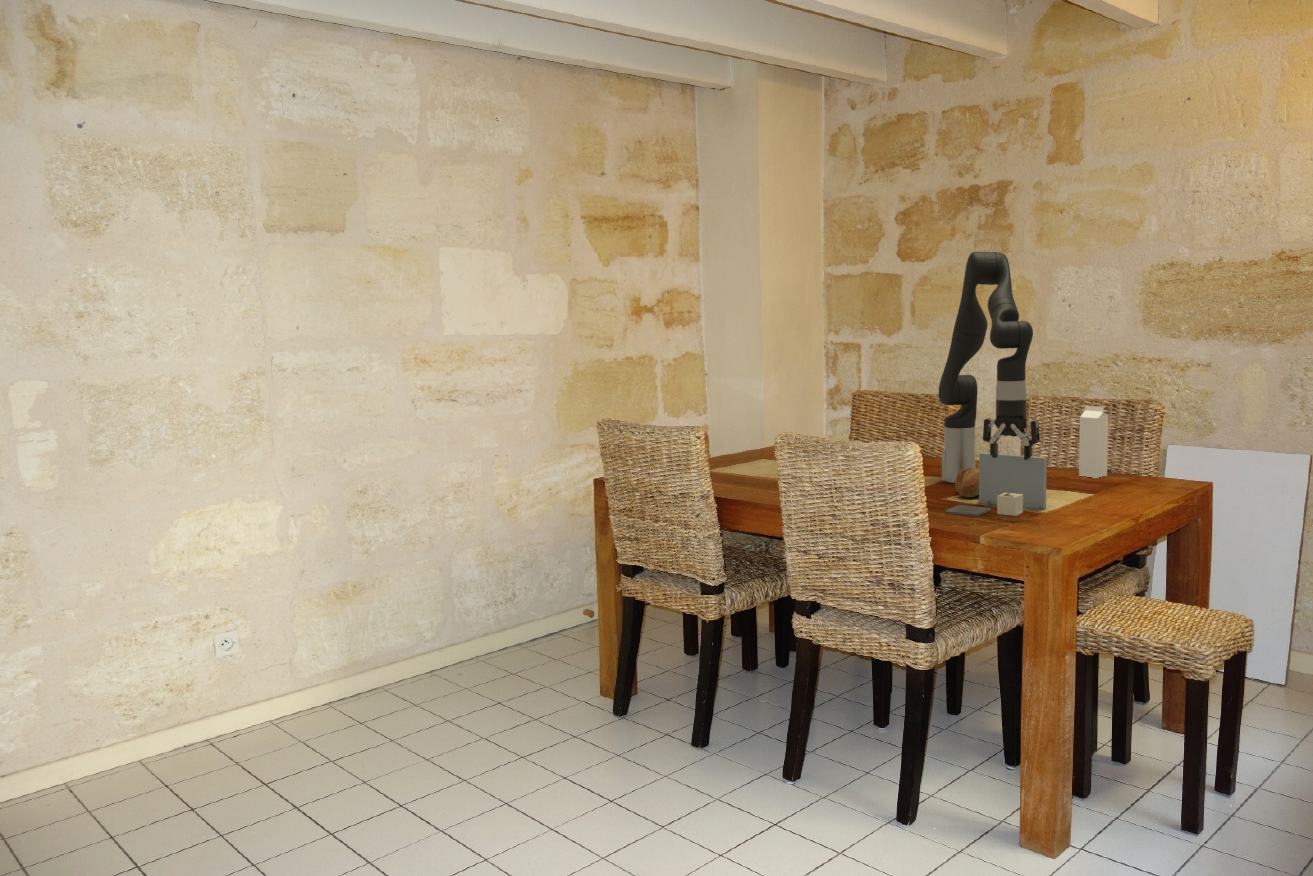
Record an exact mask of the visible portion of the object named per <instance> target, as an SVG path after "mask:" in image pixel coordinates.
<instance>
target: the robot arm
mask: <svg viewBox="0 0 1313 876" xmlns="http://www.w3.org/2000/svg"><path fill="white" fill-rule="evenodd" d="M1009 262H1010V261H1009V259H1008V257H1007V255H1006V254H1005V253H1003V252H997V251H972V252H971V253H969V256H968V258H967V260H966V264H965V270H964V277H963V283H962V289H961V290H962V291H961V295H960V296H961V298H960V303H959V306H958V311H957V314H956V319H955V322H954V327H953V331H952V336H951V340H950V346H949V351H948V355H947V359H946V363H945V365H944V369H943V372H942V375H941V377H940V381H939V385H938V399H939V401H940V403H941V404H942V405H944V406H960V408H959V409H958V410H957V411H955V412H954V413H952V414H949V415H948V416H946V417H944V422H943V423H944V425H943V426H944V432H943V433H944V438H943V439H944V445H943V446H944V448H943V449H944V450H942V451H941V481H942V482H946V483H953V484H955V480H956V477H957V474H958V473H959V472H960V471H961V470H963V469H965V468H976V420H977V409H978V407H977V406H978V391H979V390H978V382H977V379H976V377H975V376H973V374H961V371H962V370H963V368H964V367H965V366H966V365H967V364H968V362H970V360H971V359H972V358H973V357H974V356H975V355H976V354H978V352H979V351H980V349H981V348H982V347H983V344H984V342H985V338H986V335H987V334H986V333H987V330H988V320H987V317H986V315H985V313H984V310H983V308H982V307H981V305H980V301H979V300H978V296H977V293H976V291H977V287H978V285H983V286H984V285H986V286H988V285H989V286H991V285H992V286H993V285H996V287H995V289H994V290H993V291H992V292H991V293H990V295H989V297H988V300H987V310H988V313H989V315H990V320H991V327H990V332H989V333H990V334H989V340H990V344H991V345H992V346H993V347H994V348H996V349H999V350H1002V349H1016V350H1015V352H1014V354H1012V355H1010V356H1007V357H1002V358H1000V359H998V360H997V363H996V386H995V419H992V418H991V417H990V418H986V419H984V420H983V431H982V432H983V433H982V441H984V442H987V443H988V444H989V453H990V454H991V455H992V458H996V457H998V454H999V442H998V441H999V440H1000V439H1001V438H1002V437H1003V436H1004V437H1007V436H1009V437H1018V438H1019V439H1020V440H1021V441H1022V442H1023V444H1024V446H1023V456H1024V460H1029V459H1030V458H1031V456H1033V445H1036V444H1038V443H1040V441H1041V439H1040V438H1041V437H1040V422H1039V420H1037V419H1035V420H1028V419H1027V396H1028V394H1027V385H1026V384H1027V383H1026V364H1027V359H1028V358H1027V357H1028V353H1029V350H1030V347H1031V344H1032V340H1033V336H1034V330H1033V326H1032V324H1031V323H1030V322H1029V321H1026V320H1020V314H1019V310H1018V306H1017V305H1016V301H1015V299H1014V294H1013V286H1012V284H1013V283H1012V277H1011V269H1010V268H1011V267H1010V263H1009ZM994 425H995V427H996V428H997V430H996V431H995V432H994V434H993V436H992V427H994ZM1027 426H1028V428H1029V429H1030V432H1031V433H1030V434H1031V435H1029V434H1028V432H1027V431H1026V428H1027ZM1030 436H1031V437H1030Z"/></svg>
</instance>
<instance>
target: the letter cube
mask: <svg viewBox="0 0 1313 876" xmlns="http://www.w3.org/2000/svg"><path fill="white" fill-rule="evenodd" d="M996 509H997V511H996V514H997V515H1004V516H1005V515H1006V516H1014V517H1017V516H1019V515H1020V514H1023V512H1024V507H1023V494H1015V493H1003V494H1000V495H998V496H997V505H996Z"/></svg>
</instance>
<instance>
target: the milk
mask: <svg viewBox="0 0 1313 876" xmlns="http://www.w3.org/2000/svg"><path fill="white" fill-rule="evenodd" d="M1108 438H1109V416H1108V414H1106V412H1104V406H1096V405H1095V406H1094V405H1085V406H1084V411H1083V413H1081V415H1080V416H1079V445H1078V446H1079V447H1078V448H1079V449H1078V450H1079V451H1078V456H1079V457H1078V459H1079V460H1078V461H1079V462H1078V464H1079V465H1078V477H1079V476H1087V477H1092V478H1091V479H1096V478H1097V479H1100V478H1099V477H1101V478H1103V477H1102V476H1105V477H1107V476H1108V451H1109V450H1108V447H1109V446H1108V445H1109V443H1108V442H1109V440H1108ZM1087 477H1086V478H1087Z"/></svg>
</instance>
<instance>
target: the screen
mask: <svg viewBox="0 0 1313 876" xmlns="http://www.w3.org/2000/svg"><path fill="white" fill-rule="evenodd" d="M978 454H979V455H978V459H979V460H978V463H979V464H978V466H979V467H978V468H979V495H978V506H979V505H981V506H989V505H996V506H997V496H998V495H1000V494H1003V493H1015V494H1023V509H1024V508H1025V509H1027V508H1028V510H1029V511H1036V512H1038V511H1041V510H1047V461H1048V460H1047V458H1048V457H1045V456H1033V455H1032V456H1031V458H1030V459H1029V460H1024V455H1020V454H1019V455H1016V454H1006V453H1005V454H1004V453H1003V454H1002V453H998V457H996V458H992V455H991V454H990V452H989V453H988V452H980V453H978Z"/></svg>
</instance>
